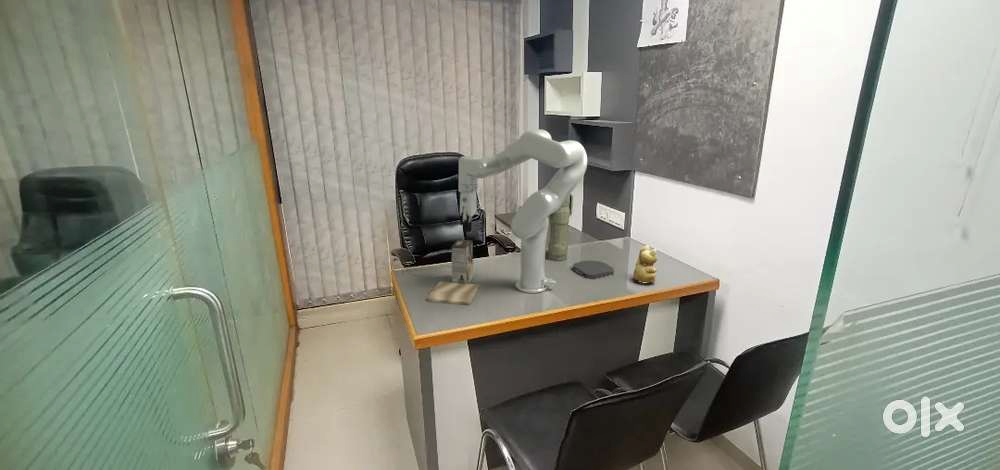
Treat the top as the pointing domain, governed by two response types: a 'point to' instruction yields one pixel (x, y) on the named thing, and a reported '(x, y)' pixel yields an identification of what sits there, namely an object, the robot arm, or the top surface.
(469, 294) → the board
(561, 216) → the thermos
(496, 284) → the top surface
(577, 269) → the media streaming box
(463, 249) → the coffee box
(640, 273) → the decorative figurine
